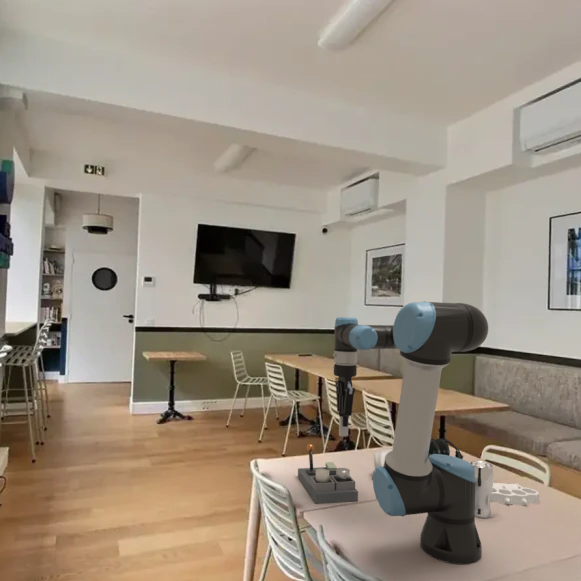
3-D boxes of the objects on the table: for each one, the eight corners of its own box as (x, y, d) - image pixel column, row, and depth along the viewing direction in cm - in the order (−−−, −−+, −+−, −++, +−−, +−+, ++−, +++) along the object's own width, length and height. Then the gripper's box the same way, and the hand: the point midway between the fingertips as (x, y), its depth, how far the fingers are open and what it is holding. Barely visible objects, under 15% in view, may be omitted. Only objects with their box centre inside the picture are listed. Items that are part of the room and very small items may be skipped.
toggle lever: (316, 470, 170) (314, 443, 173) (309, 470, 169) (307, 443, 172) (314, 470, 172) (312, 443, 175) (307, 471, 171) (305, 444, 175)
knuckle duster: (525, 491, 168) (546, 509, 154) (472, 489, 168) (489, 507, 154) (525, 481, 168) (546, 498, 154) (473, 479, 169) (489, 496, 154)
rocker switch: (336, 471, 170) (336, 467, 170) (328, 471, 169) (329, 468, 169) (332, 465, 174) (333, 462, 174) (325, 465, 174) (325, 462, 173)
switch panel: (357, 501, 155) (358, 483, 155) (315, 503, 152) (316, 486, 152) (334, 474, 178) (335, 459, 179) (297, 476, 175) (298, 461, 175)
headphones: (408, 444, 201) (431, 468, 181) (431, 422, 202) (456, 443, 182) (426, 465, 204) (451, 490, 185) (449, 443, 205) (476, 466, 185)
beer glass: (478, 519, 143) (478, 468, 144) (463, 510, 150) (464, 461, 151) (498, 517, 145) (498, 467, 146) (483, 508, 152) (483, 459, 152)
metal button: (351, 481, 158) (351, 472, 158) (338, 482, 157) (338, 472, 157) (346, 476, 162) (347, 467, 162) (334, 477, 161) (334, 468, 161)
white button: (330, 482, 156) (330, 473, 156) (317, 483, 155) (317, 473, 155) (326, 477, 160) (327, 468, 160) (313, 478, 159) (314, 469, 159)
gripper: (328, 361, 166) (326, 430, 165) (340, 366, 153) (338, 441, 153) (349, 361, 168) (347, 430, 167) (363, 366, 155) (361, 440, 154)
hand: (343, 435), depth 160 cm, fingers closed
